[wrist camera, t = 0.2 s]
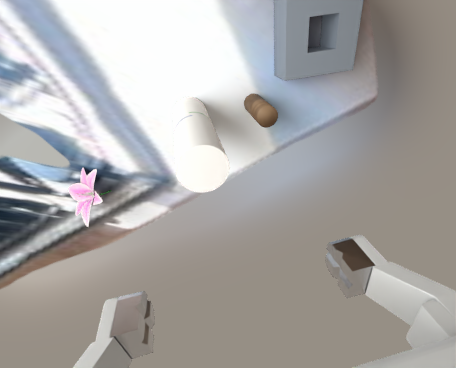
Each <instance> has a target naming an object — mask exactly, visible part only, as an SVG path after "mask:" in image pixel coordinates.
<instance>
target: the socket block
mask: <svg viewBox="0 0 456 368" xmlns="http://www.w3.org/2000/svg"><path fill="white" fill-rule="evenodd" d="M362 6H363V0H274V74H275V76H277V77H279V78H281V79H283V80H285V81H287V80H293V79H300V78H306V77H312V76H318V75H324V74H330V73H336V72H342V71H348V70H353V66H354V59H355V53H356V46H357V39H358V33H359V26H360V20H361V13H362ZM320 15H322V25H321V38H320V46H319V47H313V48H308V35H309V17H313V16H320Z"/></svg>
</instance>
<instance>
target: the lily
mask: <svg viewBox="0 0 456 368" xmlns="http://www.w3.org/2000/svg"><path fill="white" fill-rule="evenodd" d="M96 172H97V169H95V170H93V171H91V172H90V173H89V174H88V175H86V173H85V170H84V168H82V171H81V183H75V184H72V185H70V186H69V188H68V191H69V193H70V195H71V196H72V198H73V199H74V200H76V201H78V202H77V206H76V212H75V215H76V216H77V215H78V214H80V213H81V214H82V218H83V220H84V222H85V224H86V226H87V227H88V226H89V214H90V208H91V204H92V205H96V204H100V203H102V202H103V201H102V199H101V198H100V196H99V195H103V194H106V193H108V192H110V191H111V190H109V191H107V192H105V193H102V194H97V193H96V191H95V190H94V181H95V177H96ZM92 201H93V202H92Z"/></svg>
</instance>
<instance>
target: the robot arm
mask: <svg viewBox="0 0 456 368" xmlns="http://www.w3.org/2000/svg"><path fill="white" fill-rule="evenodd" d="M327 250H328V251H329V252H328V253H327V255H326V265H327V268H328V270H329V272H330V273H331V275H332V276H333V277H335V278H336V279H338V286H339V287H340V289H341V290H342V292H343V293H344V295H345V297H346V298H349V297H353V296H357V295H361V294H365V293H366V294H365V295H367V296H368V297H370V298H371V299H372V300H374V301H375V302H377V303H378V304H380V305H382V306H383V307H385V308H386V309H387V310H389V311H390V312H392V313H393V314H395V315H396V316H398V317H399V318H401V319H402V320H404V321H405V322H407V323H408V324H410V325H411V327H410V329H409V331H408V333H407V336H406V339H407V341H408V342H409V343H410V345H411V346H412V347H413V349H411V350H408V351H404V352H401V353H398V354H394V355H391V356H388V357H385V358H382V359H379V360H375V361H372V362H368V363H365V364H362V365H359V366H355V367H352V368H456V291H455V290H452V289H450V288H448V287H446V286H444V285H441V284H439V283H437V282H435V281H433V280H430V279H428V278H426V277H424V276H422V275H419V274H417V273H415V272H413V271H411V270H408V269H406V268H404V267H402V266H400V265H397V264H395V263H393V262H387V261H386V260H385V259H384V258H383V257H382V255H381V254H380V253H379V252H378V251H377V250H376V249H375V248H374V247H373V246H372V245H371V244H370V243H369V242H368V241H367V239H366V238H365V237H364V236H362V235H357V236H353V237H350V238H345V239H341V240H337V241H334V242H330V243H328V244H327ZM154 322H155V316H154V309H153V305H152V303H151V301H148V300H147V294H146V292H145V291H143V292H138V293H134V294H129V295H125V296H121V297H117V298H113V299H109V300H106V302H105V304H104V307H103V311H102V315H101V320H100V324H99V328H98V333H97V337H96V341H95V342H93V343H91V344H90V346H89V347H88V348H87V350H86V351H85V352H84V354H83V355H82V356H81V358H80V359H79V360H78V362H77V363H76V364H75V365H74V367H73V368H129V365H130V364H131V362H132V359H134V358H137V357H140V356H143V355H147V354H150V353H153V343H154V335H153V333H152V331H151V329H152V327H153V326H154Z"/></svg>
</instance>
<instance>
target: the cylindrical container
mask: <svg viewBox="0 0 456 368" xmlns="http://www.w3.org/2000/svg"><path fill="white" fill-rule="evenodd" d="M173 125H174V146H175V167H176V176H177V178H178V180H179V182H180V183H181V184H182V185H183V186H184V187H185V188H187V189H188V190H191V191H194V192H209V191H212V190H214V189H216V188H218V187H219V186H220V185H222V184H223V183H224V182H225V180H226V179H227V177H228V174H229V169H230V166H229V161H228V158H227V156H226V154H225V151H224V149H223V147H222V144H221V142H220V140H219V138H218V135H217V133H216V131H215V128H214V126H213V124H212V122H211V119H210V117H209V115H208V112H207V110H206V108H205V106H204V104H203V103H202V102H201V101H200V100H198V99H197V98H194V97H185V98H182V99H180V100H179V101H178V102H177V103H176V104H175V106H174V109H173Z"/></svg>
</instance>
